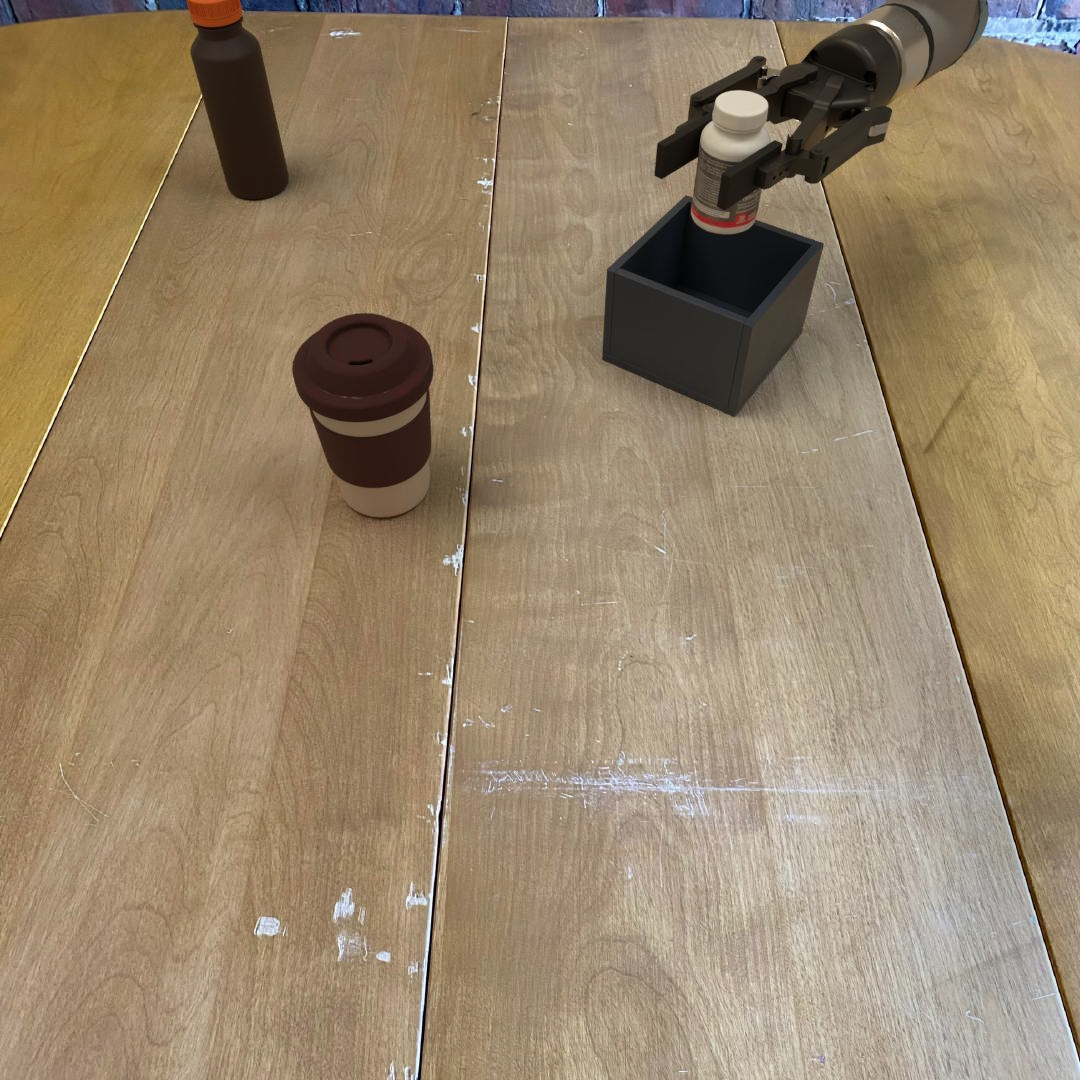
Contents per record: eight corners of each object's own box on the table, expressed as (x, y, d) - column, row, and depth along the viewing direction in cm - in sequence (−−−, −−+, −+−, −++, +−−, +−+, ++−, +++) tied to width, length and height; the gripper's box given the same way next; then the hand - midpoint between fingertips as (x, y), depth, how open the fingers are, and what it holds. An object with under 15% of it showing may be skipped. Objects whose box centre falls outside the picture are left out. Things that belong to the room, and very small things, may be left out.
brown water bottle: (286, 163, 112) (244, -26, 97) (293, 195, 108) (250, 2, 93) (225, 172, 111) (173, -18, 96) (230, 205, 107) (176, 11, 91)
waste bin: (801, 333, 93) (824, 243, 85) (734, 417, 86) (752, 326, 78) (674, 284, 98) (685, 194, 90) (601, 359, 91) (606, 269, 83)
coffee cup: (367, 429, 85) (338, 284, 73) (468, 465, 82) (455, 320, 71) (300, 508, 79) (258, 364, 68) (407, 549, 77) (381, 406, 65)
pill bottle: (745, 243, 79) (766, 126, 71) (681, 228, 80) (695, 112, 73) (763, 207, 82) (785, 92, 74) (701, 193, 83) (717, 79, 76)
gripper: (944, 150, 83) (782, 270, 73) (766, 77, 92) (597, 176, 81) (974, 60, 78) (803, 177, 67) (781, -9, 86) (601, 85, 75)
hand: (691, 176), depth 74 cm, fingers closed on pill bottle, 5 cm apart
